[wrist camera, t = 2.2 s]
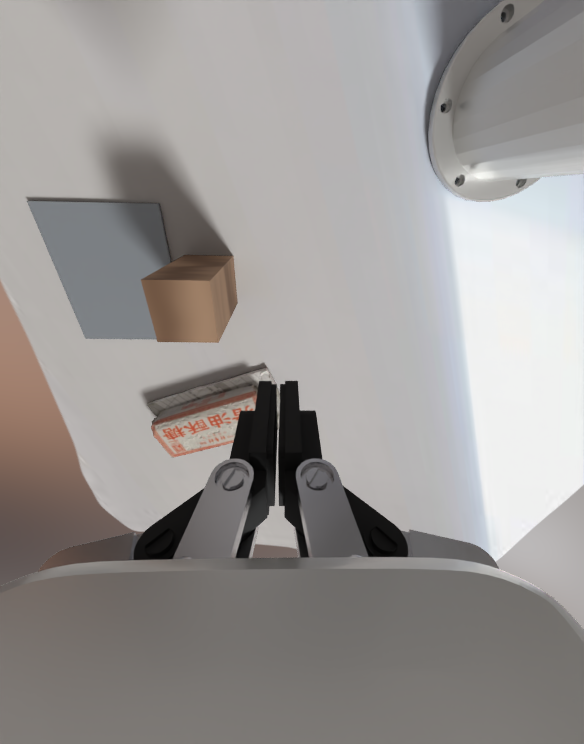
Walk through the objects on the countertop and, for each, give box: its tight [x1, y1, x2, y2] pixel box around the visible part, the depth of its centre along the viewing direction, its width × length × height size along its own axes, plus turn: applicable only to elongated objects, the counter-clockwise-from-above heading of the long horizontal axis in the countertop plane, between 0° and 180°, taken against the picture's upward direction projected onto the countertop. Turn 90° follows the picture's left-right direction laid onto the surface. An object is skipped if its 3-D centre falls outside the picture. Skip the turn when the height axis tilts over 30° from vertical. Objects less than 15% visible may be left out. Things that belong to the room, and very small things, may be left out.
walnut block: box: [141, 255, 237, 343], centre depth 26 cm, size 5×5×10 cm
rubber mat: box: [27, 201, 171, 339], centre depth 29 cm, size 12×14×1 cm
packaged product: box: [147, 368, 280, 458], centre depth 38 cm, size 18×5×10 cm
